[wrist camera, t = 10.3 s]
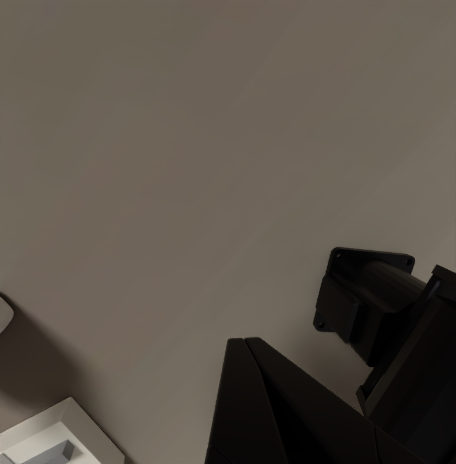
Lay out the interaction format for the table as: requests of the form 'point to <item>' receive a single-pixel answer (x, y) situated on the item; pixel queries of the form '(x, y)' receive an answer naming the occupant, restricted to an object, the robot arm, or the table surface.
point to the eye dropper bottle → (5, 314)
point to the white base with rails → (58, 439)
